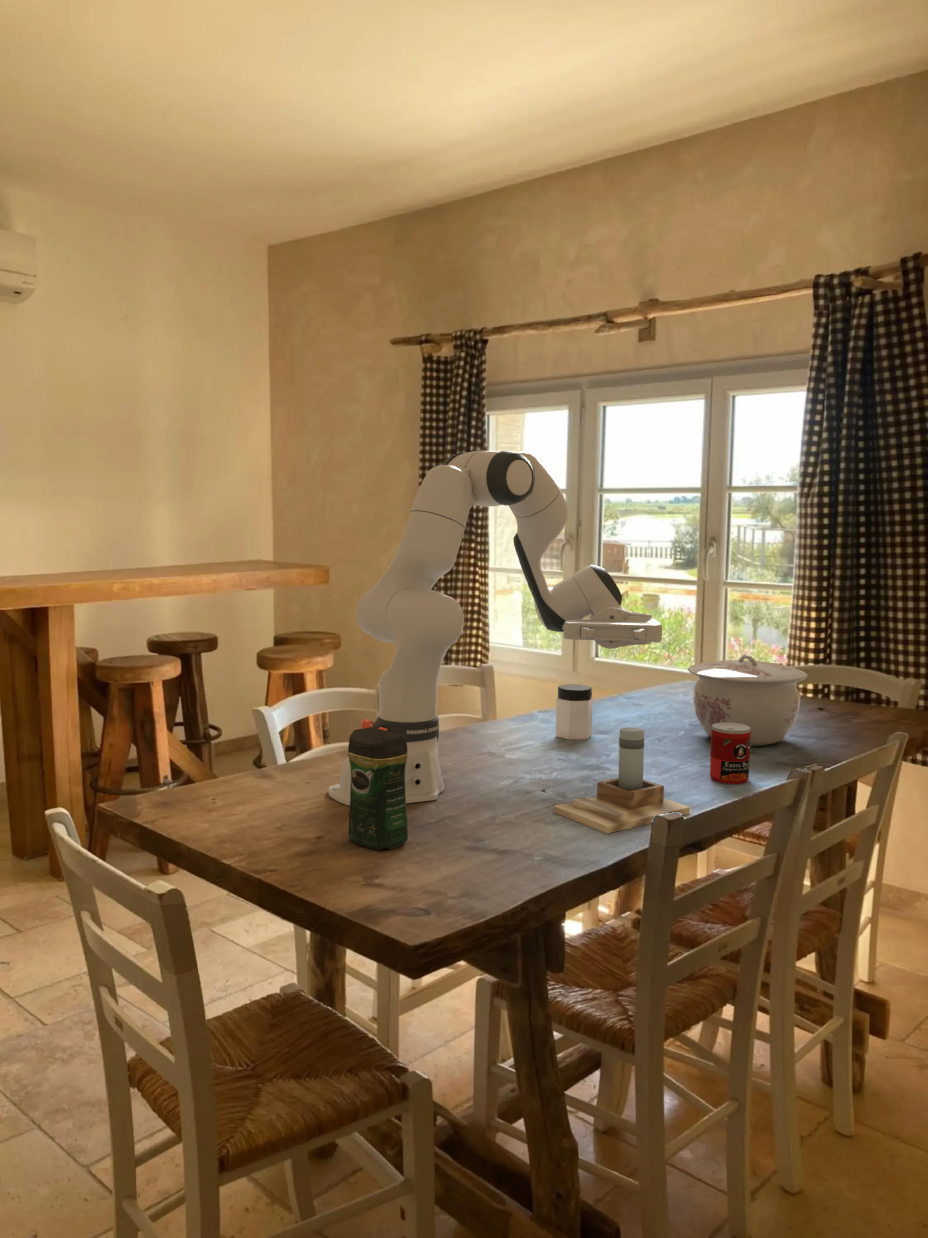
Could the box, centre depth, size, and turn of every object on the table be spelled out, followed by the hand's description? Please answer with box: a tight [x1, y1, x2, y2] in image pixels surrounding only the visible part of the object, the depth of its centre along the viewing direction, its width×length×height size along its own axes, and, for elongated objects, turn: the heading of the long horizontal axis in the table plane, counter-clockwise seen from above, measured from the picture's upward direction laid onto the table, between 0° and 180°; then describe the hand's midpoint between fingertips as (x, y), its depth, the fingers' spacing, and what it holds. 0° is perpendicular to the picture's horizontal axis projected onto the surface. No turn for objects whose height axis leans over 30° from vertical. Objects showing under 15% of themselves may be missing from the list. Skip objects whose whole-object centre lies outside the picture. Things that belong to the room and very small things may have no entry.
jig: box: [553, 777, 691, 834], centre depth 173 cm, size 20×14×4 cm
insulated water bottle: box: [618, 727, 645, 791], centre depth 177 cm, size 4×4×13 cm
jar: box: [555, 683, 594, 741], centre depth 233 cm, size 9×8×12 cm
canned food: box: [709, 722, 751, 785], centre depth 196 cm, size 8×8×11 cm
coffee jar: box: [347, 727, 409, 850], centre depth 156 cm, size 10×8×19 cm
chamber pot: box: [687, 653, 809, 747], centre depth 230 cm, size 28×28×21 cm
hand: (613, 635), depth 195 cm, fingers open, 8 cm apart
